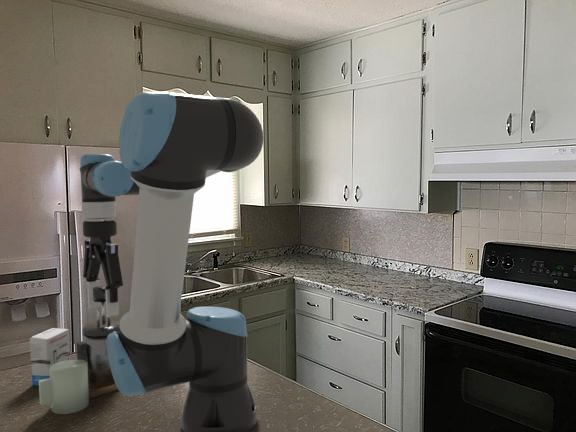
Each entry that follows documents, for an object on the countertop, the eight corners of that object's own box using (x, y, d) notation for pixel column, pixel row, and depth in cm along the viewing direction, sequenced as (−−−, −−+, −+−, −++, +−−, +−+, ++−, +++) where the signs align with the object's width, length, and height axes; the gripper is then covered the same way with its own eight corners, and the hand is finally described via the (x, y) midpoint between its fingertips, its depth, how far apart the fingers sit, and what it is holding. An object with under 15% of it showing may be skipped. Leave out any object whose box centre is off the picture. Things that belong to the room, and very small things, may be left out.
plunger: (116, 324, 119) (115, 287, 118) (98, 328, 116) (97, 290, 115) (108, 320, 122) (107, 284, 121) (91, 324, 119) (89, 287, 118)
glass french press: (143, 381, 120) (140, 307, 118) (90, 398, 111) (86, 318, 109) (120, 366, 129) (117, 297, 128) (69, 381, 120) (65, 307, 119)
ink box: (49, 387, 117) (46, 339, 116) (31, 385, 118) (28, 337, 117) (71, 373, 126) (69, 328, 125) (54, 371, 126) (52, 327, 126)
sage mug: (94, 405, 107) (93, 365, 107) (47, 421, 101) (44, 379, 100) (81, 394, 113) (79, 356, 112) (35, 409, 106) (33, 368, 105)
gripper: (136, 221, 111) (139, 317, 113) (96, 216, 128) (99, 300, 129) (103, 223, 106) (107, 324, 108) (66, 218, 122) (70, 305, 124)
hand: (103, 311), depth 119 cm, fingers open, 10 cm apart
